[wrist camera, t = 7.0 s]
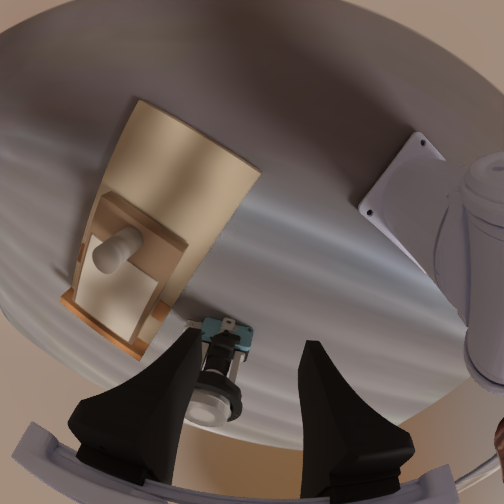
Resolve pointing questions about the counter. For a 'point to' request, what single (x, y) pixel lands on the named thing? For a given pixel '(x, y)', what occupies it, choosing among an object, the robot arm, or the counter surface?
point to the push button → (218, 372)
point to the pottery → (500, 444)
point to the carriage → (124, 266)
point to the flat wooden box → (169, 200)
